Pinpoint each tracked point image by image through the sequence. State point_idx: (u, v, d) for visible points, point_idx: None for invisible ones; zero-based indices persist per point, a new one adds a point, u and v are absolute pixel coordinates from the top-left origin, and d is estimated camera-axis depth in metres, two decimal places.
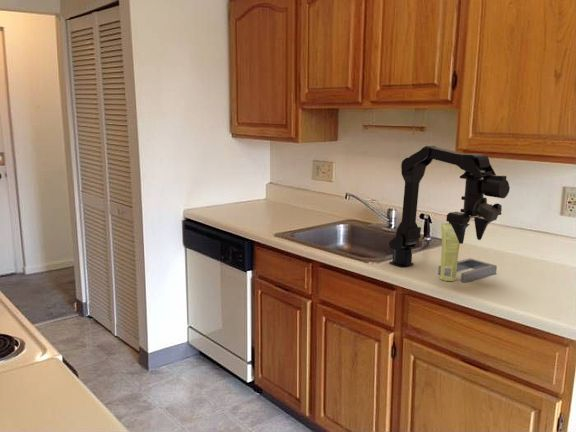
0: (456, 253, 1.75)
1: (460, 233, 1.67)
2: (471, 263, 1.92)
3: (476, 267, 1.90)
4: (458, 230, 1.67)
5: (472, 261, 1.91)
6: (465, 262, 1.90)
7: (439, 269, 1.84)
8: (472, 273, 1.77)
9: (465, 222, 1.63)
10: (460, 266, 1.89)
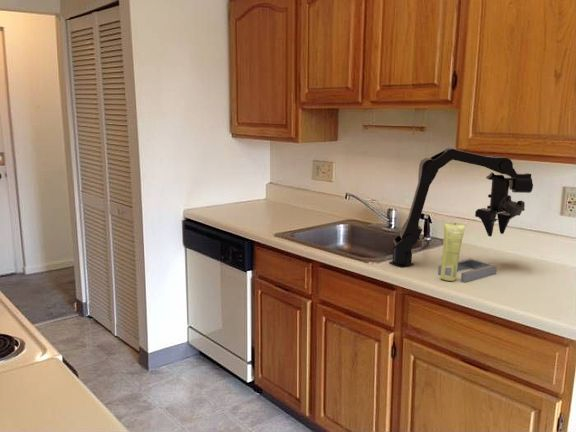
0: (457, 253, 1.75)
1: (489, 227, 1.87)
2: (471, 263, 1.92)
3: (476, 267, 1.90)
4: (487, 224, 1.88)
5: (472, 261, 1.91)
6: (465, 262, 1.90)
7: (439, 269, 1.84)
8: (472, 273, 1.77)
9: (492, 217, 1.83)
10: (460, 266, 1.89)
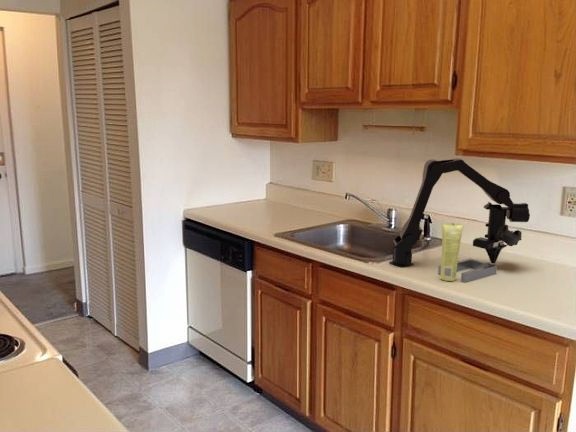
0: (456, 253, 1.75)
1: (492, 254, 1.91)
2: (471, 263, 1.92)
3: (476, 267, 1.90)
4: (490, 252, 1.92)
5: (472, 261, 1.91)
6: (465, 262, 1.90)
7: (439, 269, 1.84)
8: (472, 273, 1.77)
9: (490, 247, 1.85)
10: (460, 266, 1.89)
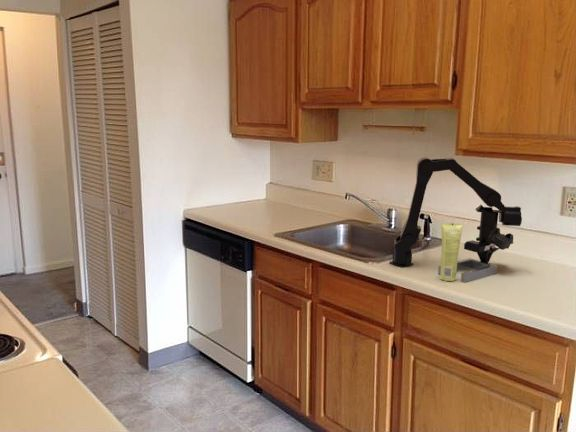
0: (456, 253, 1.75)
1: (484, 258, 1.89)
2: (471, 263, 1.92)
3: (476, 267, 1.90)
4: (482, 255, 1.89)
5: (472, 261, 1.91)
6: (465, 262, 1.90)
7: (439, 269, 1.84)
8: (472, 273, 1.77)
9: (481, 250, 1.82)
10: (460, 266, 1.89)
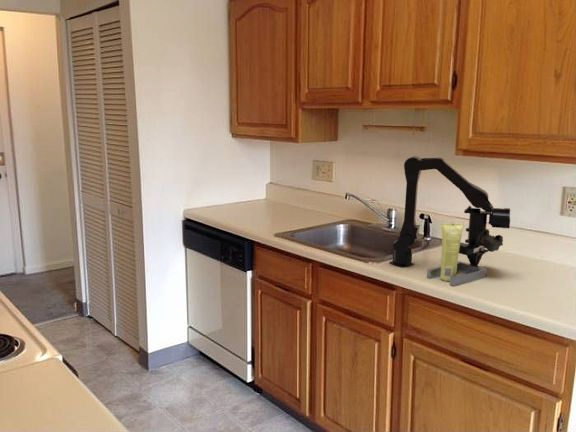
0: (456, 253, 1.75)
1: (473, 260, 1.85)
2: (460, 266, 1.88)
3: (466, 270, 1.86)
4: (471, 257, 1.85)
5: (462, 264, 1.87)
6: None
7: (428, 272, 1.80)
8: (461, 276, 1.73)
9: (470, 253, 1.78)
10: None
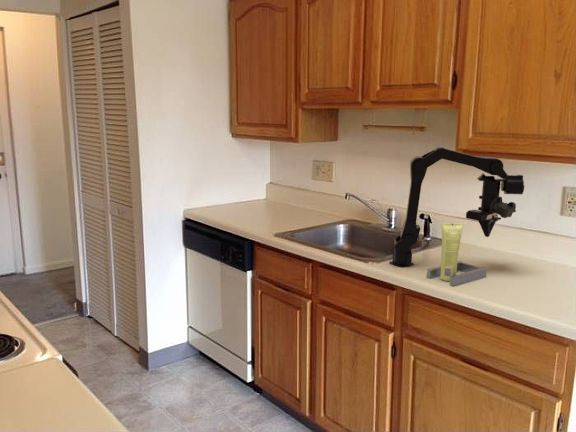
0: (456, 253, 1.75)
1: (486, 227, 1.87)
2: (460, 266, 1.88)
3: (466, 270, 1.86)
4: (484, 225, 1.88)
5: (462, 264, 1.87)
6: None
7: (428, 272, 1.80)
8: (461, 276, 1.73)
9: (483, 219, 1.81)
10: None
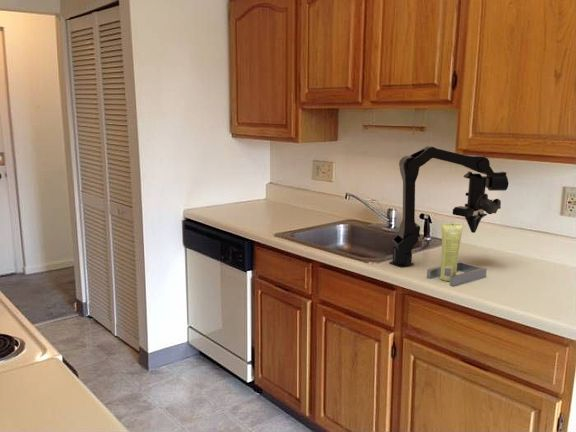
0: (456, 253, 1.75)
1: (472, 223, 1.93)
2: (460, 266, 1.88)
3: (466, 270, 1.86)
4: (470, 221, 1.93)
5: (462, 264, 1.87)
6: None
7: (428, 272, 1.80)
8: (461, 276, 1.73)
9: (469, 215, 1.86)
10: None
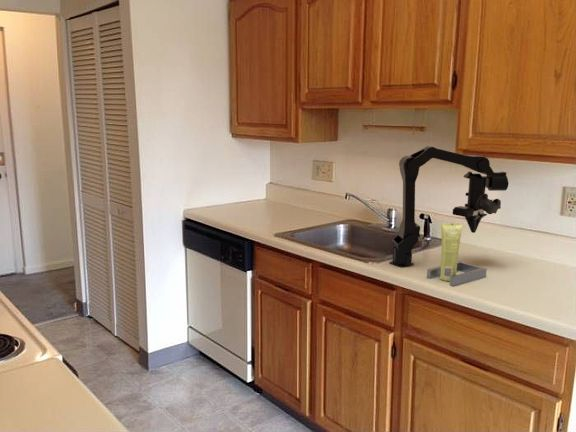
0: (456, 253, 1.75)
1: (472, 223, 1.93)
2: (460, 266, 1.88)
3: (466, 270, 1.86)
4: (470, 221, 1.93)
5: (462, 264, 1.87)
6: None
7: (428, 272, 1.80)
8: (461, 276, 1.73)
9: (469, 215, 1.86)
10: None
